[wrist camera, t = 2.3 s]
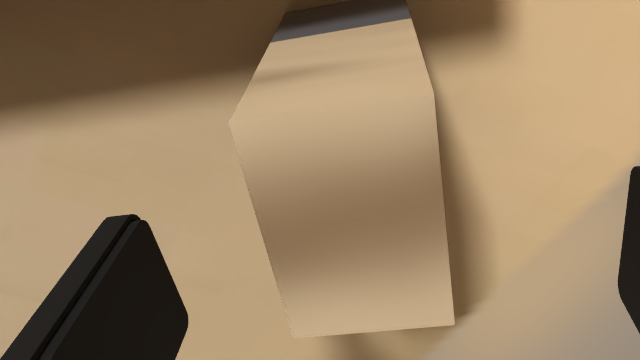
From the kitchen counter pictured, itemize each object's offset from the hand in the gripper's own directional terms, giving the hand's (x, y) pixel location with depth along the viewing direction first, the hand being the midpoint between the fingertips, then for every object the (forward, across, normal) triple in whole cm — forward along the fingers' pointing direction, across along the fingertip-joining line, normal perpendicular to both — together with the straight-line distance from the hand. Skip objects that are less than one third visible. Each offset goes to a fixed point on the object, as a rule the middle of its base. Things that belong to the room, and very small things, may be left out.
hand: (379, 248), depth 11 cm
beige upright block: (+10, +1, 0) cm, 10 cm away
